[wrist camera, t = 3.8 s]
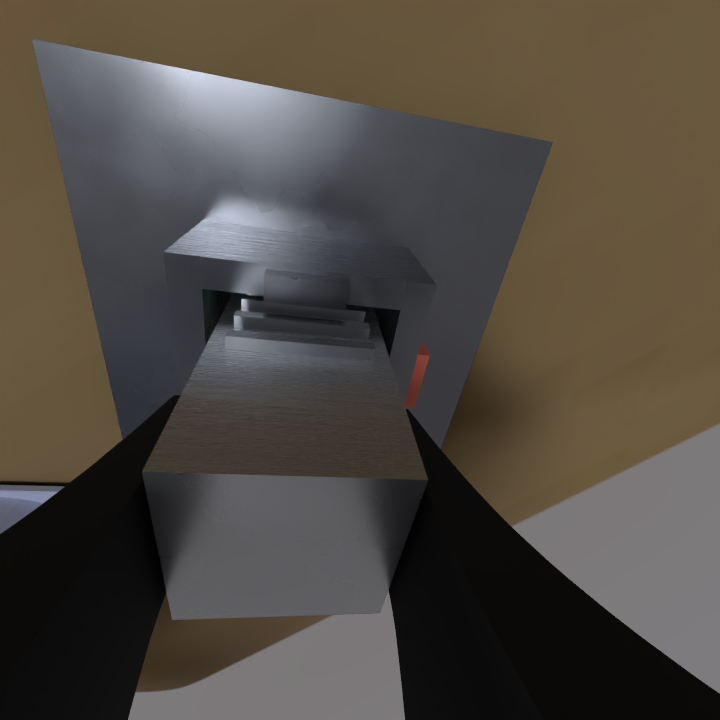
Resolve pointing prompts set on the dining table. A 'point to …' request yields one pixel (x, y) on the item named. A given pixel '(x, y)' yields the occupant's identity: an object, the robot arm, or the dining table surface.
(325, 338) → the stand column
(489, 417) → the dining table surface
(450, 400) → the stand base
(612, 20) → the dining table surface
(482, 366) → the dining table surface
